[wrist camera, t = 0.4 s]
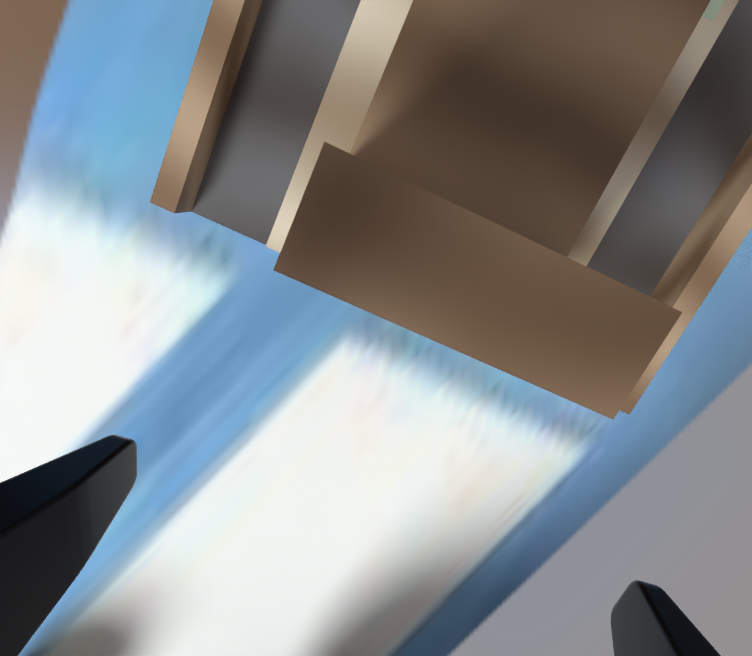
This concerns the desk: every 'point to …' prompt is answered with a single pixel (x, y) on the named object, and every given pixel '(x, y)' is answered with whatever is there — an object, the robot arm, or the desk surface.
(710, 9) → the pad
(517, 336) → the bookend
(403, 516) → the desk surface
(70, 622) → the desk surface
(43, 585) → the robot arm
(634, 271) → the wooden rectangular frame
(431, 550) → the desk surface
